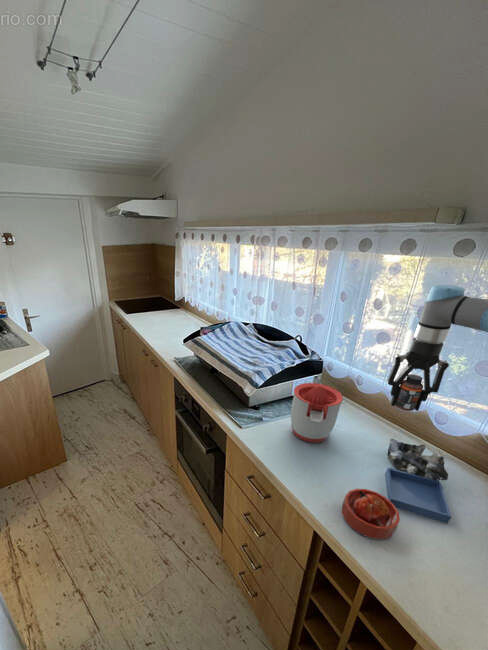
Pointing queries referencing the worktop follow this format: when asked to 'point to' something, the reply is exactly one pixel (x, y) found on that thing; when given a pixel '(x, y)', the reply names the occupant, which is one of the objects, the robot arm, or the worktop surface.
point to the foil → (416, 460)
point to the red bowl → (371, 527)
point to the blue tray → (417, 495)
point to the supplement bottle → (409, 392)
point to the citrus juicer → (314, 411)
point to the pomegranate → (370, 507)
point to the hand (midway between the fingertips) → (404, 406)
